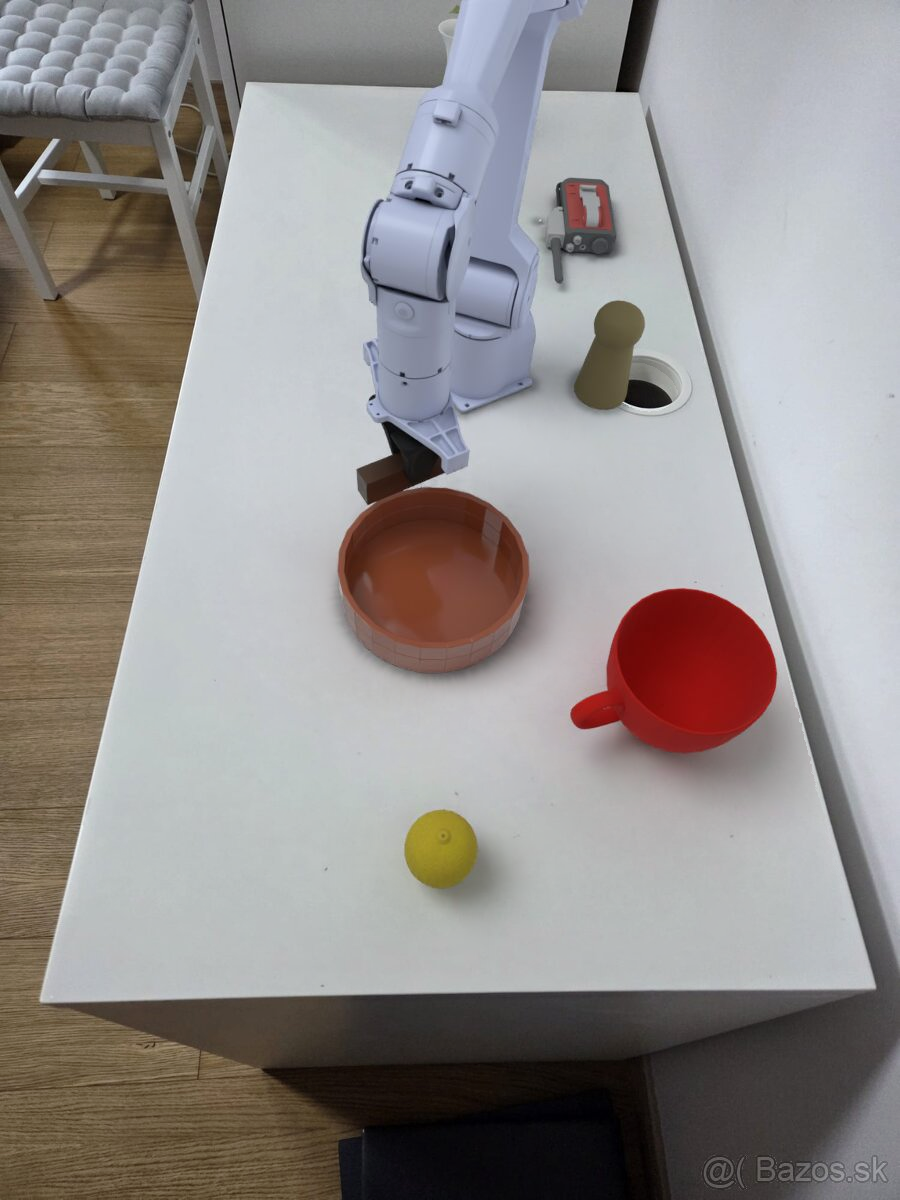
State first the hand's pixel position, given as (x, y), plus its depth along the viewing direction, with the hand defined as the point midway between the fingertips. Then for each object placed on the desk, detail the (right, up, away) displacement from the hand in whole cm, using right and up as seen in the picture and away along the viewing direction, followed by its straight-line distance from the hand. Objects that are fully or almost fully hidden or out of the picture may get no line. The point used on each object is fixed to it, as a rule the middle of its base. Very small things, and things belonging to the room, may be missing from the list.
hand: (412, 467), depth 74 cm
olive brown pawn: (+20, +12, +18) cm, 30 cm away
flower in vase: (+4, +55, +43) cm, 70 cm away
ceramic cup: (+20, -22, -2) cm, 30 cm away
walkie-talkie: (+20, +35, +32) cm, 51 cm away
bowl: (+2, -11, +3) cm, 12 cm away
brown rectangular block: (0, -1, +1) cm, 1 cm away
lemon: (+2, -33, -9) cm, 34 cm away
